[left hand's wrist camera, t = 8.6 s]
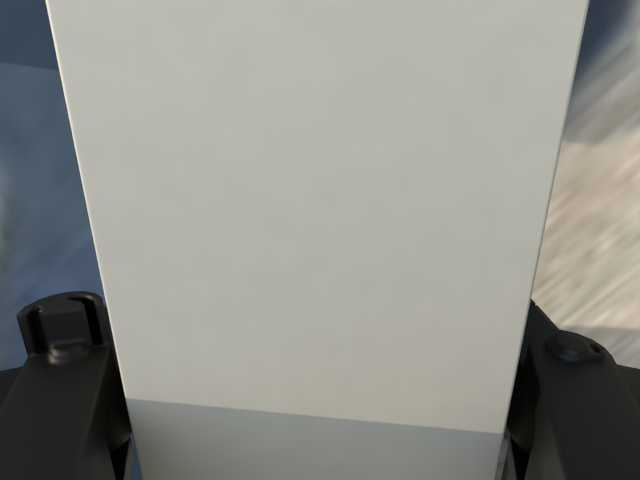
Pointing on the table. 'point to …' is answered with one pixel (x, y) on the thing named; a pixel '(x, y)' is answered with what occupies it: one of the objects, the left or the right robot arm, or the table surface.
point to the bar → (317, 222)
